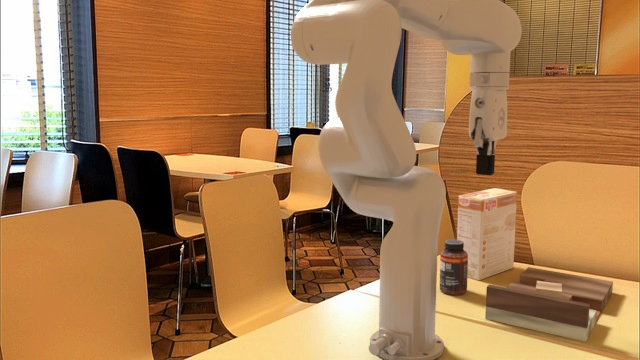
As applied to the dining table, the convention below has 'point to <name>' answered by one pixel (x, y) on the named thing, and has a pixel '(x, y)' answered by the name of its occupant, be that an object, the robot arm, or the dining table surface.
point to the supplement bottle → (453, 268)
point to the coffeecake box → (487, 231)
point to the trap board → (550, 303)
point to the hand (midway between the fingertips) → (484, 174)
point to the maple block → (549, 289)
